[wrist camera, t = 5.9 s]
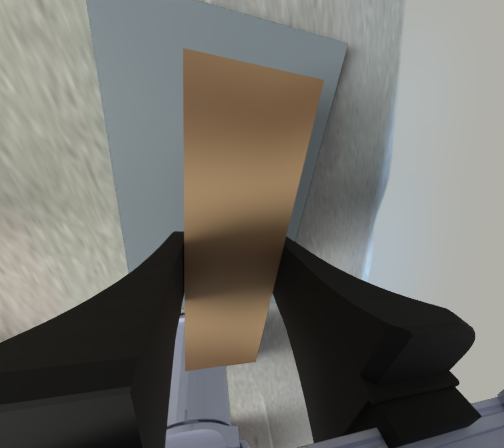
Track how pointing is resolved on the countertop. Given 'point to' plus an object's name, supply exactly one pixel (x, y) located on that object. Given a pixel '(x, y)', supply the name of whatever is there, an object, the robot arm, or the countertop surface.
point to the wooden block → (237, 197)
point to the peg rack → (171, 99)
